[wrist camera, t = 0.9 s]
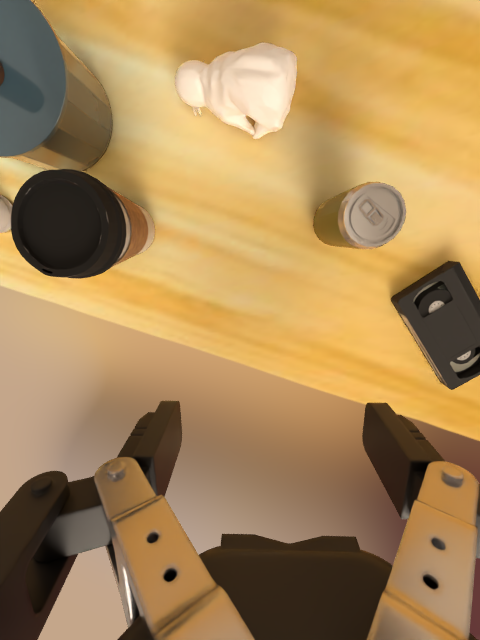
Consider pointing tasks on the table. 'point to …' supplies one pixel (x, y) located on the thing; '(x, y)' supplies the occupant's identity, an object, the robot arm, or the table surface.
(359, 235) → the beer can
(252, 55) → the white figurine
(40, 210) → the coffee cup
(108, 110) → the canister
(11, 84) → the lid
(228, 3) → the table surface
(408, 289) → the vhs tape
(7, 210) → the rook chess piece
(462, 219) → the table surface
